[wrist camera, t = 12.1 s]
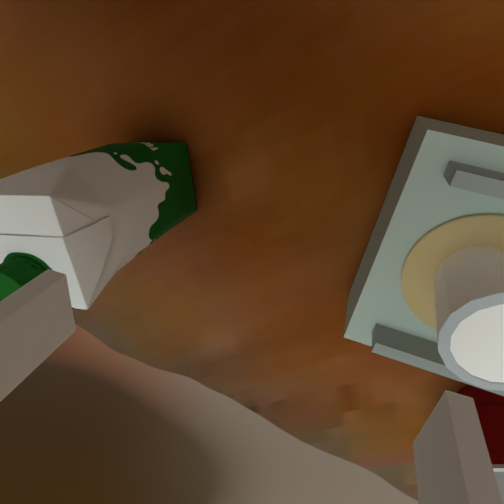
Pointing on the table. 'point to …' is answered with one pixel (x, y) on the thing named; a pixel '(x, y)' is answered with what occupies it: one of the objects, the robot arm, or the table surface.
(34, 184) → the milk carton
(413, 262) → the portable stove
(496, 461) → the plastic cup
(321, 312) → the table surface
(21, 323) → the robot arm
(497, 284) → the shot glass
